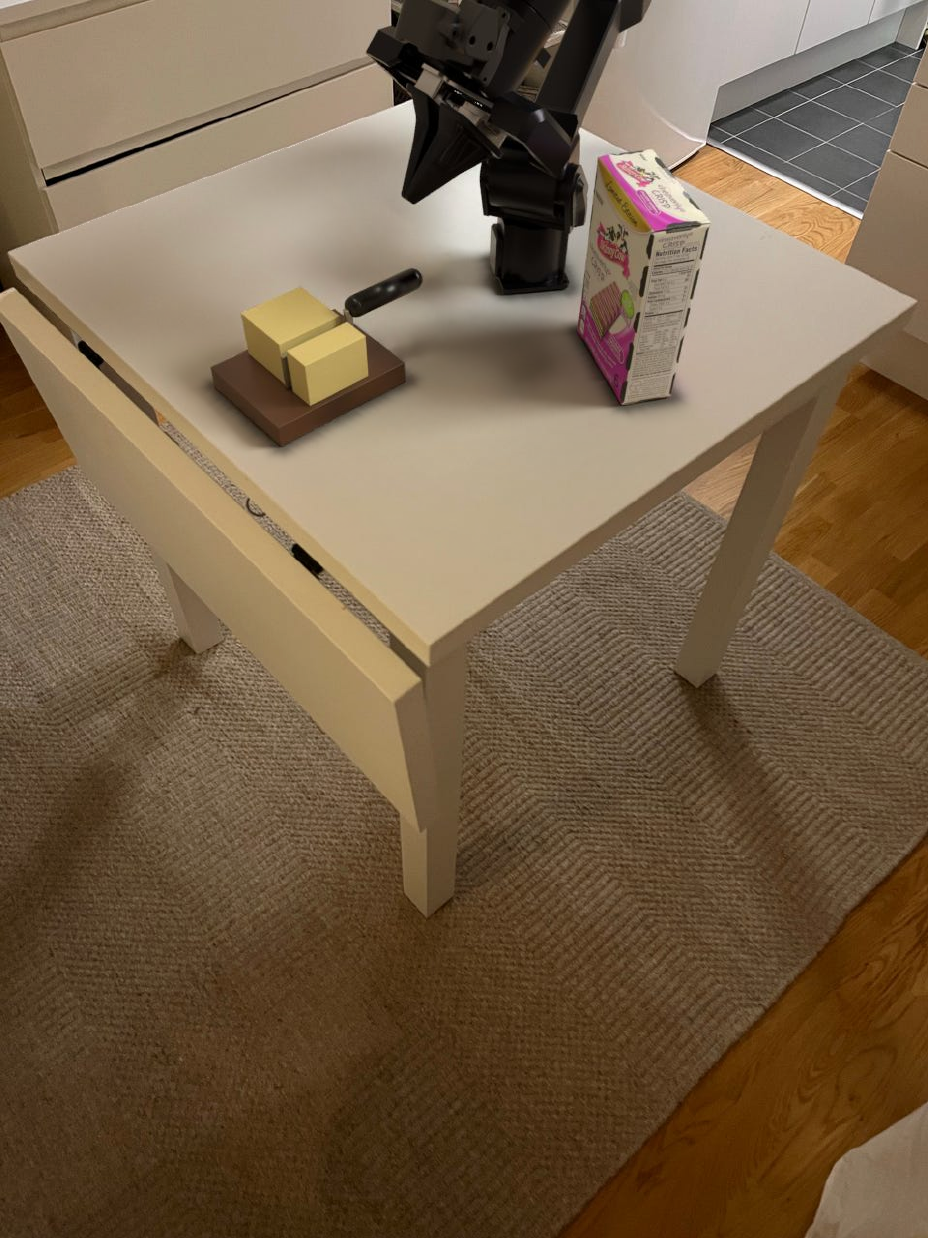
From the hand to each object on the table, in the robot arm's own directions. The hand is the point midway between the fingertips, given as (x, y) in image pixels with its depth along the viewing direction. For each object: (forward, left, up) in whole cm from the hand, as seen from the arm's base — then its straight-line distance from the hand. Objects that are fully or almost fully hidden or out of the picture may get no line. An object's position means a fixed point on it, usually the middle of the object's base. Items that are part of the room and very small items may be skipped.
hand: (407, 200), depth 76 cm
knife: (+5, +3, -11) cm, 13 cm away
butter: (+9, +4, -11) cm, 15 cm away
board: (+9, +4, -13) cm, 17 cm away
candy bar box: (-18, +6, -14) cm, 23 cm away
